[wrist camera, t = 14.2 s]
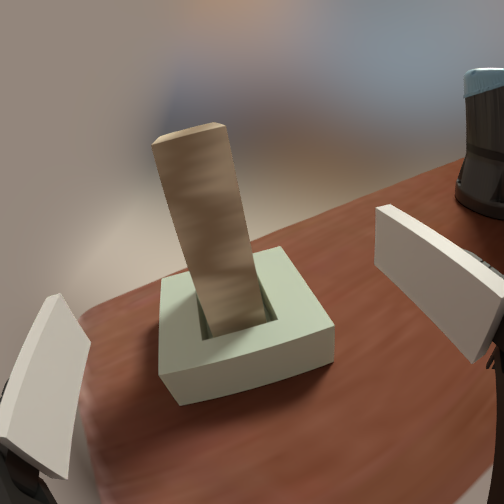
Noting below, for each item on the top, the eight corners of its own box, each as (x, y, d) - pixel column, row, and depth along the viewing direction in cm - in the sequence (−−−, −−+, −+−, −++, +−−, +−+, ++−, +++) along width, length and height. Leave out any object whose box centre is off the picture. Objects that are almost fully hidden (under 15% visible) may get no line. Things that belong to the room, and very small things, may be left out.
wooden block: (253, 299, 27) (214, 122, 19) (271, 343, 22) (225, 125, 14) (212, 310, 27) (159, 136, 19) (221, 357, 22) (150, 145, 14)
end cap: (285, 279, 31) (280, 246, 29) (333, 361, 20) (334, 325, 19) (174, 309, 30) (161, 278, 28) (179, 405, 19) (158, 375, 17)
